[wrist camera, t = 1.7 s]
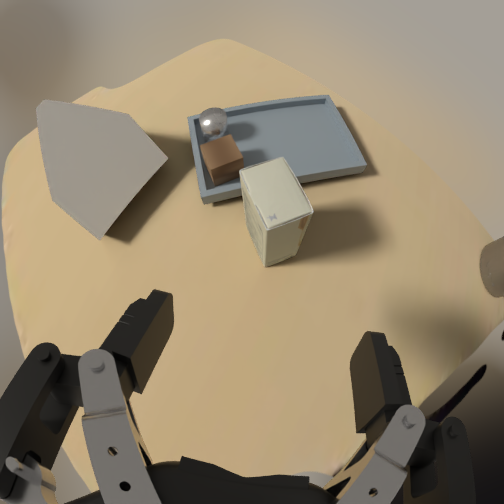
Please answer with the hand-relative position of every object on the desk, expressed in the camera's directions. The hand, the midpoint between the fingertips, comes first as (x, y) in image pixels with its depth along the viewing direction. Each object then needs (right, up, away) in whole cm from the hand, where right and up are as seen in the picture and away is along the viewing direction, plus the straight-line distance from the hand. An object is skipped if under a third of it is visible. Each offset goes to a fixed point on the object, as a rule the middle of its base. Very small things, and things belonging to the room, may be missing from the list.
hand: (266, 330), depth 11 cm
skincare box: (+2, +5, +23) cm, 24 cm away
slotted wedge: (-23, +15, +27) cm, 38 cm away
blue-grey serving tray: (+2, +18, +27) cm, 32 cm away
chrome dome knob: (-6, +19, +25) cm, 32 cm away
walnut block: (-4, +14, +24) cm, 28 cm away
